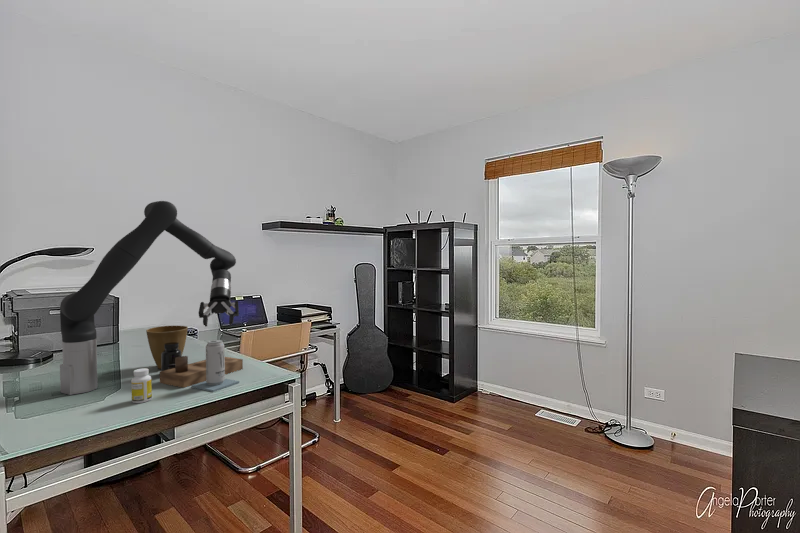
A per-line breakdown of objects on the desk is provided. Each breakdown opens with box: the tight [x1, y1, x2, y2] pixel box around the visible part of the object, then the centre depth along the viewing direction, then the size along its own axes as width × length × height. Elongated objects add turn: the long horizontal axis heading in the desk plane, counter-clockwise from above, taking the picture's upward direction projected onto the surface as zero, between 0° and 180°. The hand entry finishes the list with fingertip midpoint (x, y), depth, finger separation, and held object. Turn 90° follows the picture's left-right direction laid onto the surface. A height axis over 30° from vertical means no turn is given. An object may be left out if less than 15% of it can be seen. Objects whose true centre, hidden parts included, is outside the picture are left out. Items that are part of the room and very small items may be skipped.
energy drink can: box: [205, 339, 226, 385], centre depth 144 cm, size 6×6×15 cm
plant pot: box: [146, 325, 188, 370], centre depth 168 cm, size 15×15×16 cm
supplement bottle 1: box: [130, 367, 153, 404], centre depth 129 cm, size 5×5×10 cm
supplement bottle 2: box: [160, 342, 181, 372], centre depth 158 cm, size 7×7×12 cm
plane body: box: [159, 355, 244, 389], centre depth 156 cm, size 26×13×9 cm, turn 154°
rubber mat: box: [191, 378, 240, 393], centre depth 144 cm, size 11×11×1 cm
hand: (218, 324), depth 155 cm, fingers open, 8 cm apart
